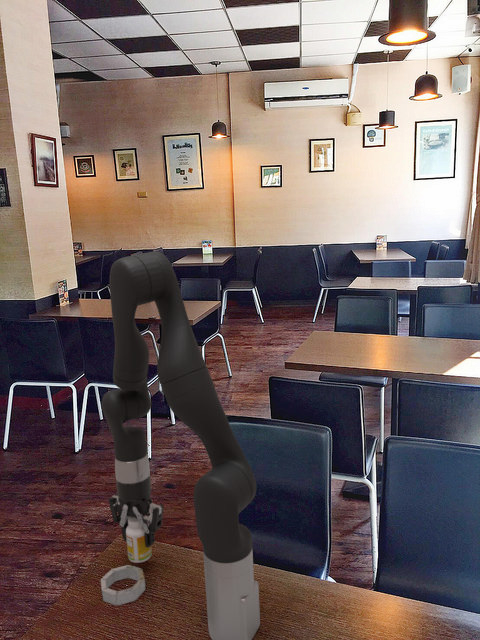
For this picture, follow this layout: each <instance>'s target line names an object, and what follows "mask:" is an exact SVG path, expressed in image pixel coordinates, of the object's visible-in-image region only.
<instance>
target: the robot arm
mask: <svg viewBox="0 0 480 640" xmlns="http://www.w3.org/2000/svg"><path fill="white" fill-rule="evenodd" d="M109 292H110V293H109V296H110V305H111V306H110V308H111V317H112V323H113V334H114V358H113V368H112V381H113V384H114V385H115V386H116V387H117V388H118V389H113V390H110V391H108V392H106V393H105V394H104V395H103V397H102V399H101V409H102V412H103V415H104V418H105V420H106V422H107V424H108V427H109V429H110V433H111V437H112V440H113V441H112V442H113V448H114V469H115V471H114V472H115V473H114V474H115V482H116V484H115V485H116V493H115V494H113V495H112V496H111V497H110V498H108V499H107V501H108V502H107V503H108V504H109V505H108V506H109V508H110V512H111V517H112V521H113V523H114V524H117V523H118V524H119V526H120V527H121V533H122V534H121V535H122V538H123V541H124V542H126V543H127V539H126V528H127V527H128V518H129V517H135V518H137V519H138V521H139V523H140V525H142V526H143V528H144V531H145V545H146V547H148V548H149V547H150V546H151V547H152V545H153V544H154V543H156V537H155V533H156V532H157V531H158V530H159V529H160V528H161V527H162V526H163V525H162V523H163V516H164V504H162V503H159V504H156V503H154V502H153V499H152V498H151V494H152V483H151V472H150V471H151V470H150V461H149V456H148V448H147V435H146V431H145V429H143V428H142V427H138V426H124V424H123V422H127V421H130V420H135V419H139V418H143V417H145V416H146V415H147V414H148V413H149V412H150V411H151V409H152V398H151V395H150V390H149V385H148V370H149V363H150V351H149V349H150V348H149V345H148V343H147V341H146V340H145V337H144V336H143V335H142V333H141V331H140V330H139V328H138V326H137V325H136V321H135V319H136V318H135V317H136V313H137V309H138V306H142V305H145V304H146V305H147V304H149V303H152V302H154V304H155V305H156V309H157V311H158V315H159V319H160V324H161V337H160V338H161V339H160V345H159V349H158V357H157V364H156V368H157V369H156V374H157V379H158V381H159V385H160V387H161V389H162V393H163V394H164V397H165V399H166V402H167V405H168V406H169V409H170V410H171V412H172V413H173V414H174V415H175V416H176V418H178V419H179V420H180V421H181V422H182V423H183V424H184V425H185V426H186V427H188V428H189V430H191V432H193V433H194V434H195V435H196V436H197V437H198V439H200V441H201V443H202V445H203V447H204V449H205V451H206V454H207V455H208V458H209V460H210V461H209V462H210V465H211V469H209V471H207V472H206V473H204V474H203V475H202V476H201V477H200V478H199V479H198V480H197V481H196V483H195V485H194V489H193V506H194V514H195V522H196V531H197V536H198V538H199V540H200V543H201V545H202V552H203V555H202V556H203V566H204V567H203V569H204V581H205V582H204V583H205V596H206V597H205V599H206V612H207V625H208V635H209V637H210V638H211V640H253V638H254V636H255V635H256V633H257V631H258V630H259V628H260V626H261V612H260V611H261V610H260V594H259V593H260V591H259V590H260V589H259V581H258V580H255V578H254V575H255V574H254V557H253V556H254V555H253V537H252V536H253V535H252V533H251V531H250V529H249V528H248V527H247V526H246V525H244V524H242V523H240V520H239V515H240V513H241V512H242V511H244V509H246V507H247V506H248V505H250V503H252V501H253V500H254V498H255V496H256V494H257V487H258V486H257V480H256V477H255V475H254V472H253V469H252V466H251V465H250V463H249V460H248V459H247V457H246V455H245V453H244V451H243V449H242V447H241V445H240V444H239V442H238V440H237V438H236V436H235V433H234V431H233V430H232V427H231V424H230V423H229V420H228V417H227V414H226V412H225V410H224V408H223V406H222V403H221V400H220V399H219V396H218V393H217V390H216V387H215V384H214V382H213V379H212V376H211V373H210V371H209V369H208V366H207V363H206V361H205V359H204V357H203V355H202V354H203V353H202V352H201V350H200V348H199V347H200V346H199V344H198V342H197V339H196V337H195V334H194V332H193V331H194V330H193V328H192V325H191V323H190V319H189V317H188V313H187V310H186V309H187V308H186V306H185V303H184V300H183V296H182V293H181V288H180V286H179V282H178V278H177V275H176V272H175V270H174V267H173V266H172V264H171V262H170V260H169V259H168V257H167V256H166V255H165V254H163V253H162V252H160V251H148V252H144V253H139V254H133V255H129V256H124V257H121V258H118V259H117V260H115V261H114V262H113V263H112V265H111V267H110V272H109ZM144 516H146V517H145V518H143V517H144ZM148 525H149V526H148Z"/></svg>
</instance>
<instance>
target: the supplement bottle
mask: <svg viewBox="0 0 480 640" xmlns="http://www.w3.org/2000/svg"><path fill="white" fill-rule="evenodd" d="M145 517H146V515H145V516H144V517H143V518H145ZM148 526H149V524H148ZM126 539H127V542H126V547H127V549H126V550H127V558H128V560H129V561H130V562H131V563H134V564H139V563H144V562H146V561H148V560H149V559H150V558H151V556H152V553H153V552H152V550H153V549H152V545H151V546H150V547H149V548H148V547H146V545H145V531H144V528H143V526H142V525H140V523H139V521H138V519H137V518H135V517H129V518H128V527H127V528H126Z"/></svg>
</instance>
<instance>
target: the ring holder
mask: <svg viewBox="0 0 480 640" xmlns="http://www.w3.org/2000/svg"><path fill="white" fill-rule="evenodd" d="M125 579H131V580H134V581H136V582H135V584H133V586H132V587H129V588H125V589H121V590H118V591H117V590H114V589H111V586H112V585H113V584H114V583H115V582H117V581H122V580H125ZM100 587H101V597H102V601H103V602H105V603H108V604H111V605H113V606H116V607H117V606H122V605H125V604H129V603H132V602H135V601H137V599H139V597H140V596H141V595H142V594H143V593H144V591H146V579H145V574H144V571H143V568H140V567H138V566H135V565H131V564H127V565H122V566H118V567H115V568H112V569H110V570H109V571H108V572H107V573H106V574H104V575H103V577H101V579H100Z"/></svg>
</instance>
